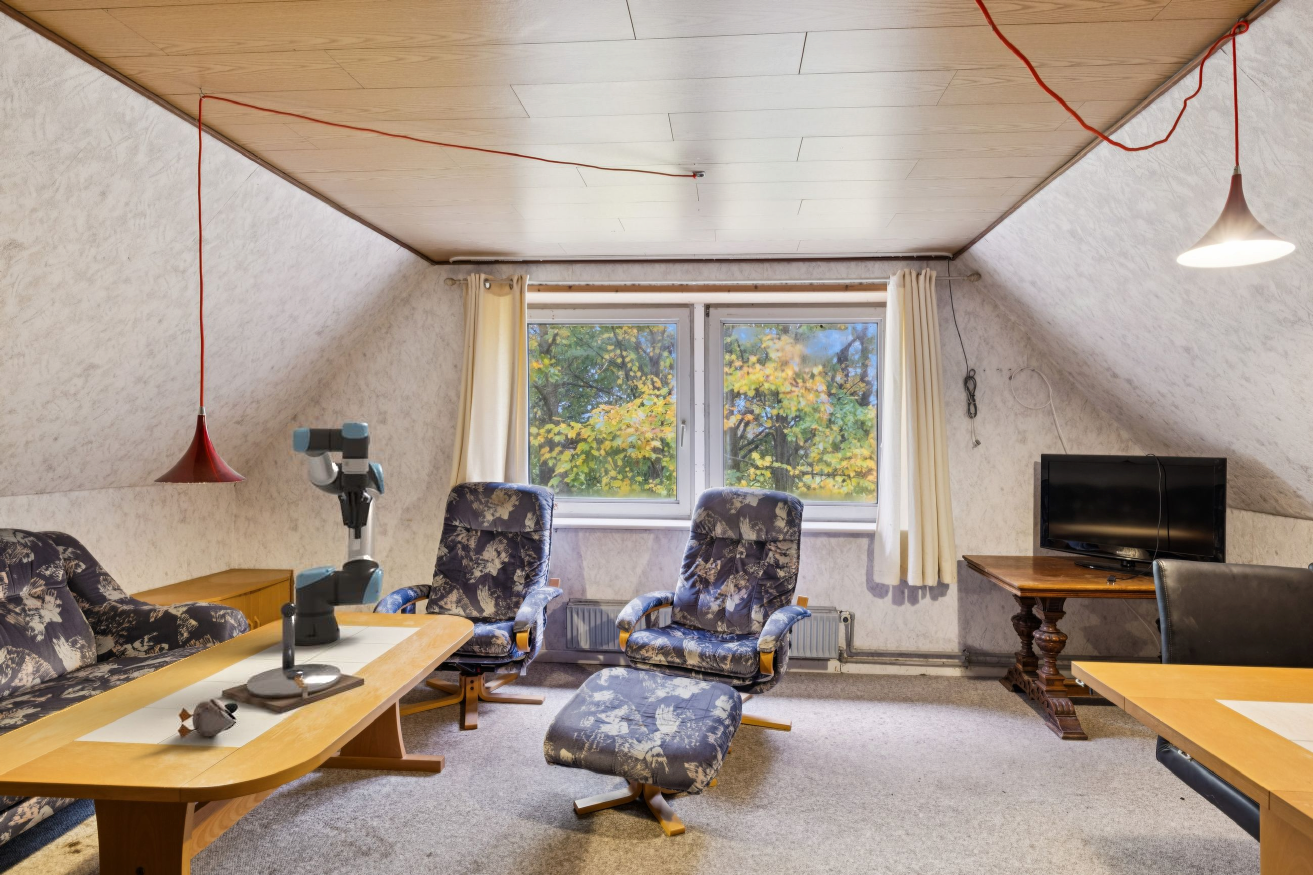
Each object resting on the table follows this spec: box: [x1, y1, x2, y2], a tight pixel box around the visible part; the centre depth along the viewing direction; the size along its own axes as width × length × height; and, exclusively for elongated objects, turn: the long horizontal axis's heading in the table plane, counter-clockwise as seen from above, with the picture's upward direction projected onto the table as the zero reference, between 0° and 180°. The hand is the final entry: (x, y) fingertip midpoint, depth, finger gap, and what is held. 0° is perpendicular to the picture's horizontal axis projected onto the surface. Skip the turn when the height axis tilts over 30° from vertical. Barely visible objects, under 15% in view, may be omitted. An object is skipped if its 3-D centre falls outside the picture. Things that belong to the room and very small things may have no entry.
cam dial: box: [246, 601, 342, 698], centre depth 195 cm, size 23×22×19 cm
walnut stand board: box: [221, 673, 365, 714], centre depth 194 cm, size 24×24×4 cm
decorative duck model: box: [177, 698, 239, 740], centre depth 167 cm, size 15×8×15 cm
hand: (354, 549), depth 227 cm, fingers closed
